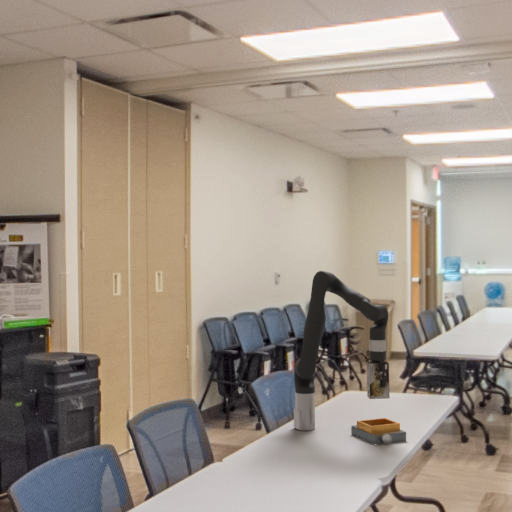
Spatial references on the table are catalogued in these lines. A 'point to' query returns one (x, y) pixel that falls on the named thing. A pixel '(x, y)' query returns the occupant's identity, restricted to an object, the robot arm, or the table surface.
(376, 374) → the coffee box
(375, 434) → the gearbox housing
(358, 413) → the table surface
